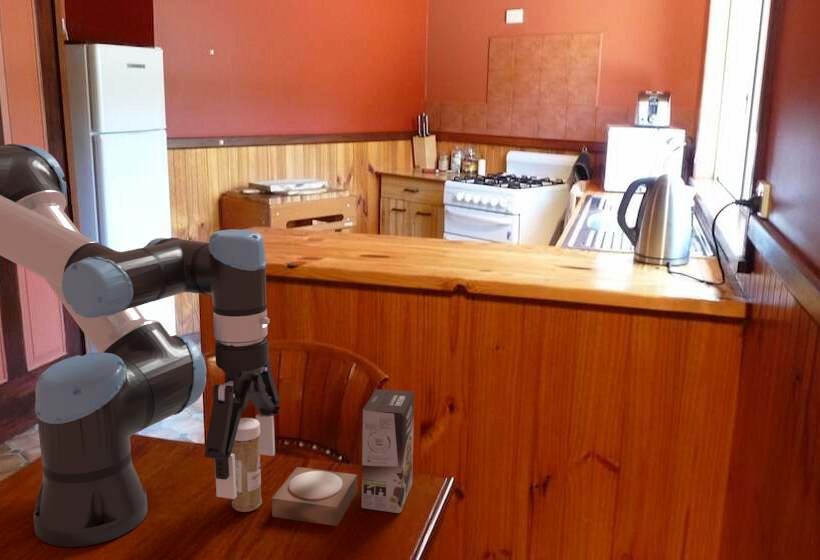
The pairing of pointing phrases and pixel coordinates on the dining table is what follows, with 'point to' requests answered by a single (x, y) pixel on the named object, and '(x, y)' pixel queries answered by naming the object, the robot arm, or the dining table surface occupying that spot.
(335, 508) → the base
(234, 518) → the dining table surface
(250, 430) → the sprinkles bottle
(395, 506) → the coffee box
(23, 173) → the robot arm
